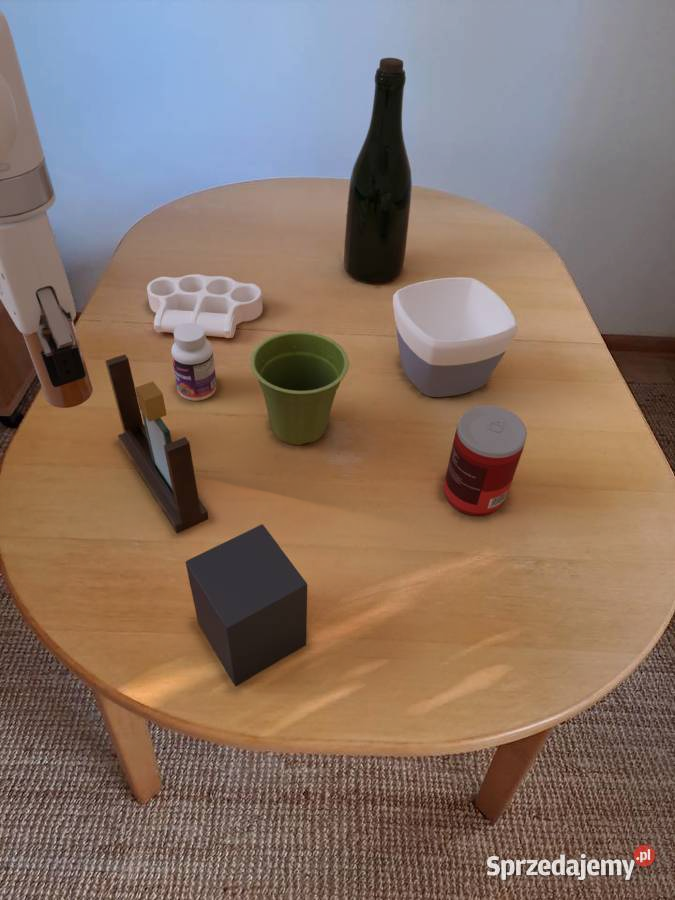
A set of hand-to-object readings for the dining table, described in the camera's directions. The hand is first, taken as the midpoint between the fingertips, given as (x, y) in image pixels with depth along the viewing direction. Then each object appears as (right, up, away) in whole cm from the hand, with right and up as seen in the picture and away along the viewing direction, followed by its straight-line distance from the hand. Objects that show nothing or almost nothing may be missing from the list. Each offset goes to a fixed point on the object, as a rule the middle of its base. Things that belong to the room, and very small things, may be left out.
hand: (59, 364), depth 66 cm
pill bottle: (+8, 0, +28) cm, 29 cm away
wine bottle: (+34, +23, +52) cm, 66 cm away
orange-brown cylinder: (0, -3, +3) cm, 4 cm away
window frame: (+6, -12, +15) cm, 20 cm away
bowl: (+43, +3, +32) cm, 54 cm away
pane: (+7, -12, +13) cm, 19 cm away
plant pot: (+22, -6, +23) cm, 33 cm away
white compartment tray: (+6, +13, +40) cm, 43 cm away
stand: (+19, -27, +2) cm, 33 cm away
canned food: (+44, -14, +16) cm, 49 cm away
